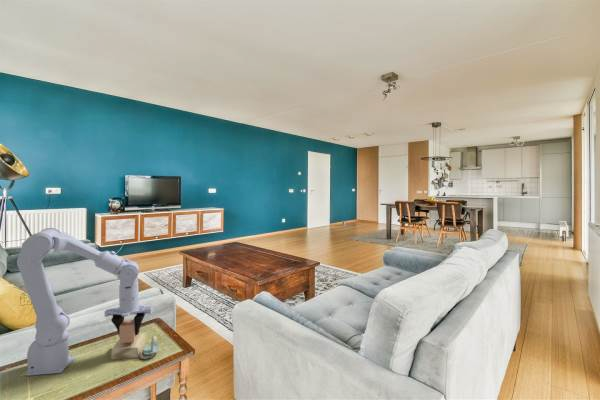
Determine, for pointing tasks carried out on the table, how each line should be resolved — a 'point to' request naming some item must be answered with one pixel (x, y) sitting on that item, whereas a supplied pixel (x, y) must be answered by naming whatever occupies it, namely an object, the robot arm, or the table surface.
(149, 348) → the pacifier
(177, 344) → the table surface
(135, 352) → the birch block
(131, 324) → the terracotta block
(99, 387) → the table surface
